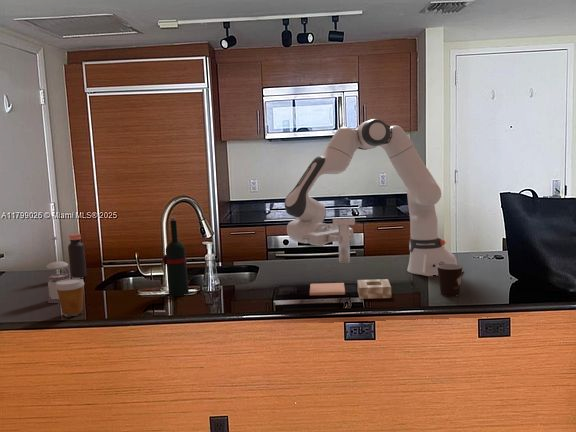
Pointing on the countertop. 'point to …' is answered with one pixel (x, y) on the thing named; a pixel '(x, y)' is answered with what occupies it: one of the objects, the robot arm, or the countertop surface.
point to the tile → (327, 289)
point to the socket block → (374, 288)
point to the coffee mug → (450, 279)
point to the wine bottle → (176, 264)
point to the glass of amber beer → (70, 295)
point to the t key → (344, 238)
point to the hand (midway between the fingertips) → (345, 238)
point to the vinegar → (77, 256)
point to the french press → (56, 275)
